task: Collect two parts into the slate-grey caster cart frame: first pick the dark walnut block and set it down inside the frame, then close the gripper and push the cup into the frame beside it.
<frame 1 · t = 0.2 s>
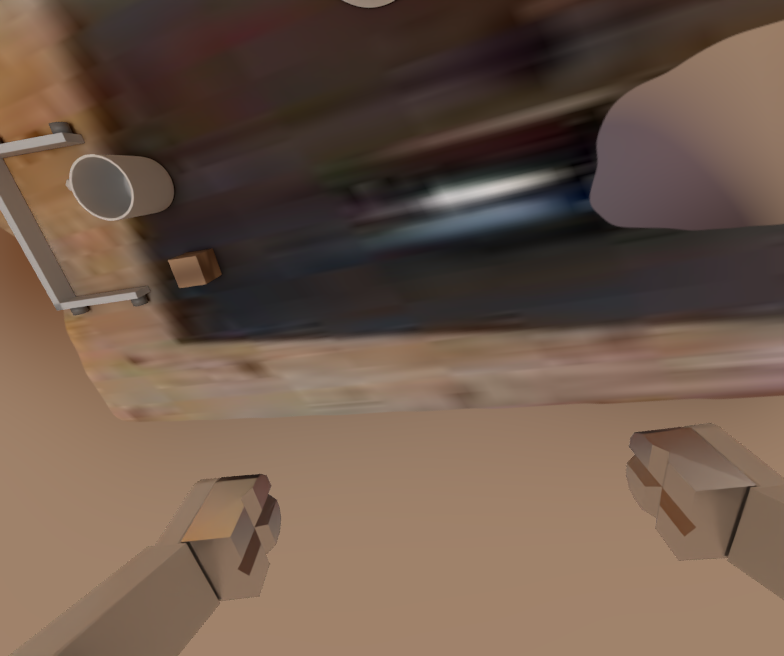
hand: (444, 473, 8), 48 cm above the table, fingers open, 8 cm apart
cart frame: (79, 226, 53), on the table
cup: (140, 184, 51), on the table
walnut block: (204, 263, 55), on the table
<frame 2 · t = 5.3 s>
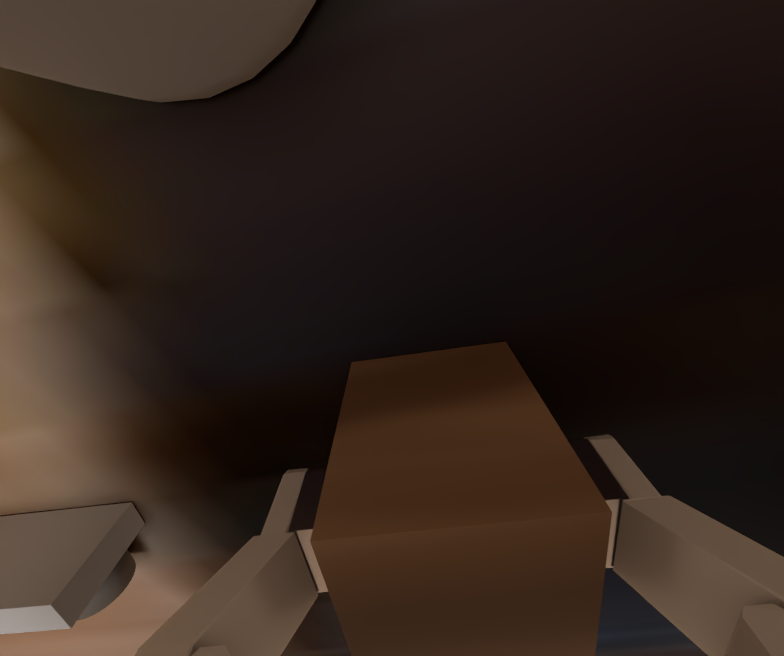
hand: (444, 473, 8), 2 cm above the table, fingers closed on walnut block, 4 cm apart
walnut block: (435, 414, 10), on the table, touching gripper
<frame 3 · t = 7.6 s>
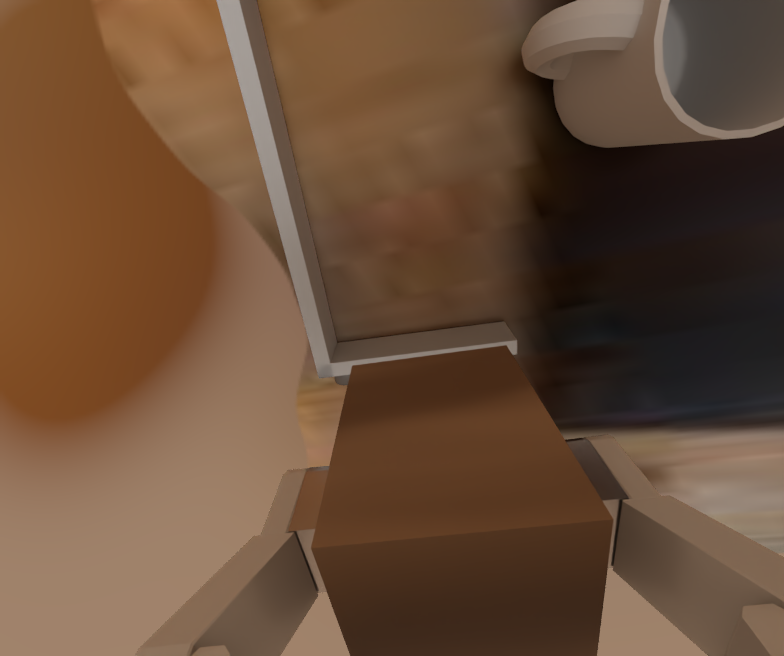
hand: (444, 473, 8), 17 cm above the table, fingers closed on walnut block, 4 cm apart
cart frame: (399, 183, 22), on the table
cup: (590, 73, 20), on the table
walnut block: (436, 418, 10), point 15 cm above the table, touching gripper
when the fingers open (4 cm above the table, at t = 10.0 s): walnut block drops 2 cm, on the table.
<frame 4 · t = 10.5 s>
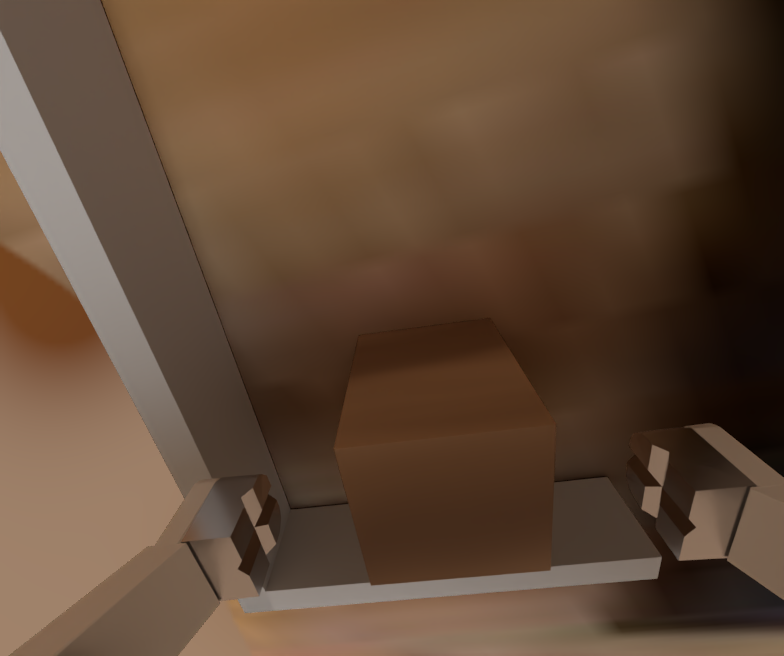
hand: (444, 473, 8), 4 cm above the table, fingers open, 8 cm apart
cart frame: (408, 225, 10), on the table
walnut block: (430, 381, 12), on the table
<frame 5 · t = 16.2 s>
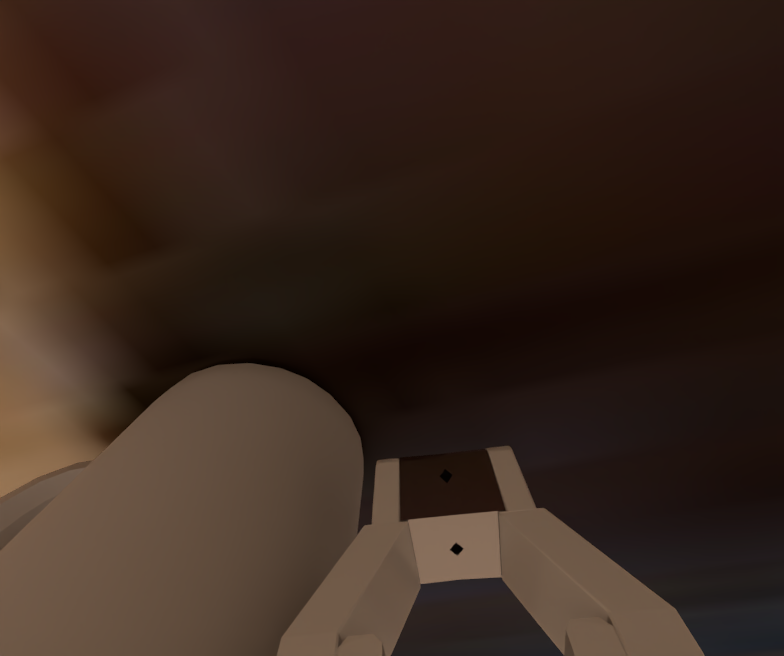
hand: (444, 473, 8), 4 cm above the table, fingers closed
cup: (225, 440, 13), on the table, touching gripper
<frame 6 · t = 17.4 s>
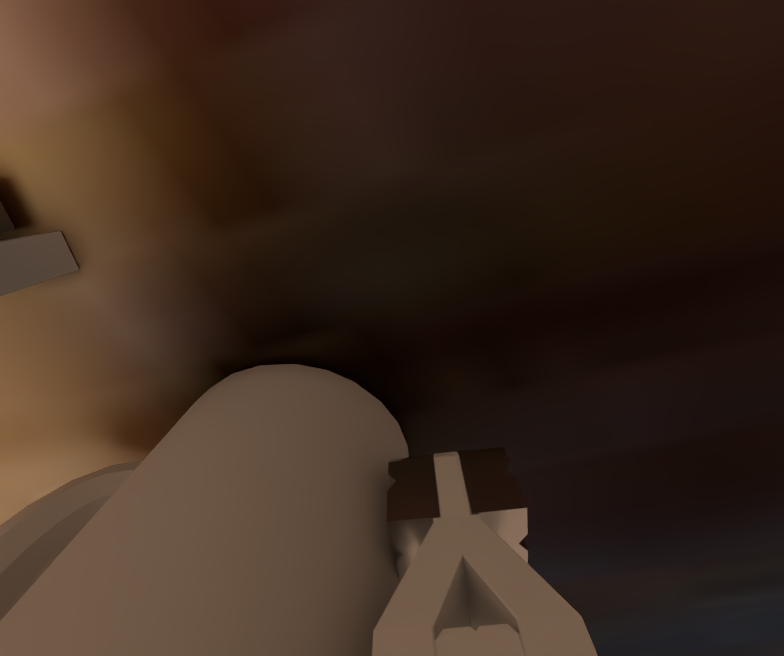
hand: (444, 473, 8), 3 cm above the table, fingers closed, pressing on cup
cart frame: (51, 546, 14), on the table
cup: (262, 443, 12), on the table, touching gripper
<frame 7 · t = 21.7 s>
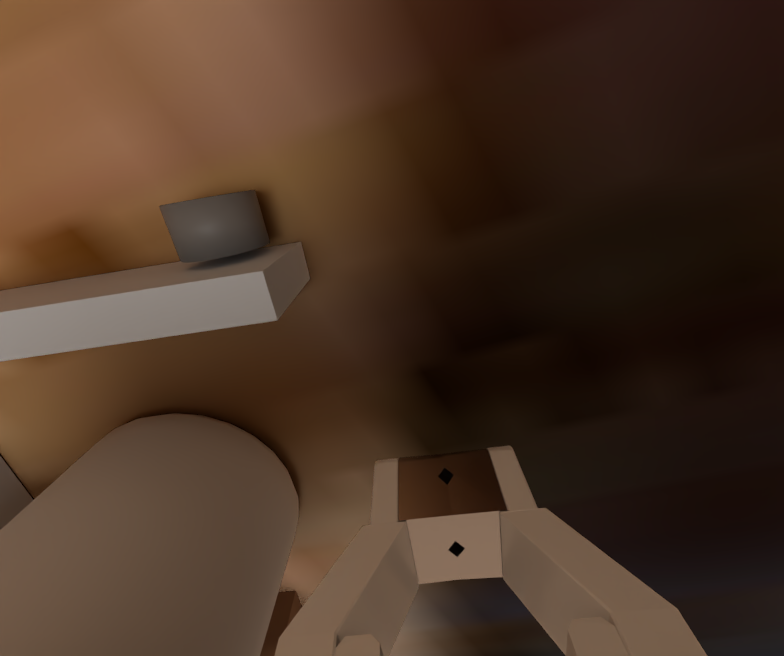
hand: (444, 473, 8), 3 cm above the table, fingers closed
cart frame: (223, 547, 14), on the table
cup: (167, 485, 13), on the table
walnut block: (263, 621, 16), on the table
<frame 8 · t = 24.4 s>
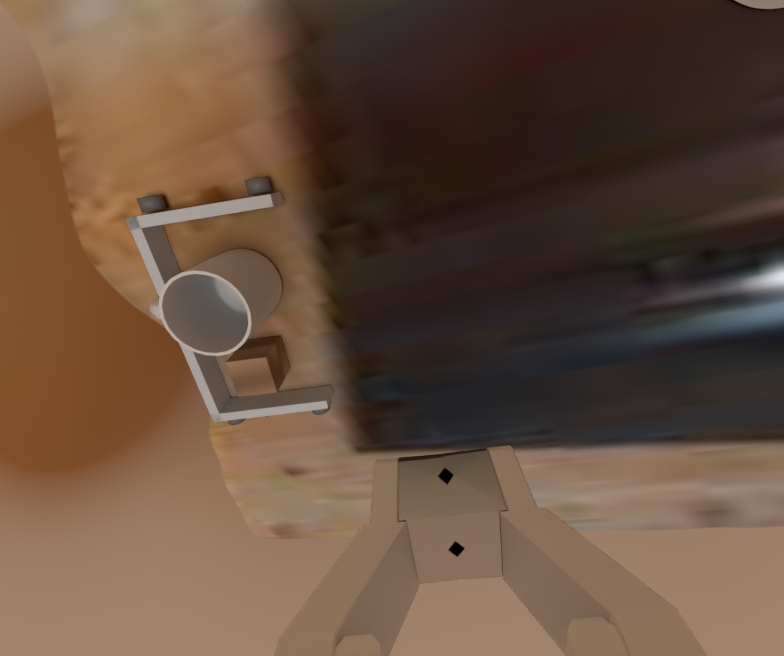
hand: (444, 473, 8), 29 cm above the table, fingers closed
cart frame: (254, 311, 38), on the table
cup: (235, 283, 37), on the table
walnut block: (268, 353, 40), on the table
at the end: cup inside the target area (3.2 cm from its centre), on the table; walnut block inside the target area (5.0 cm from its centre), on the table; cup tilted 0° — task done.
